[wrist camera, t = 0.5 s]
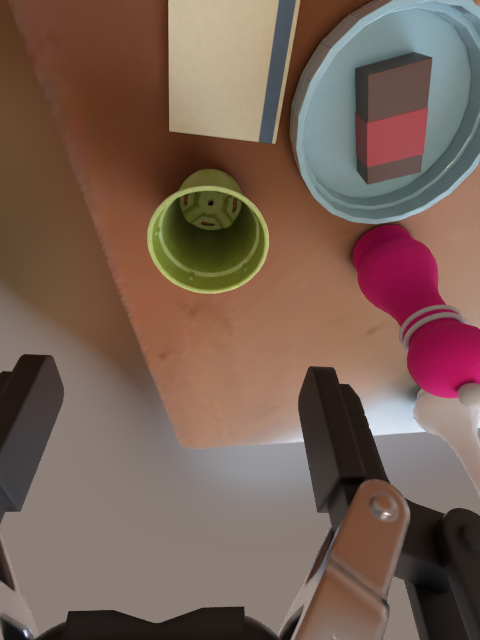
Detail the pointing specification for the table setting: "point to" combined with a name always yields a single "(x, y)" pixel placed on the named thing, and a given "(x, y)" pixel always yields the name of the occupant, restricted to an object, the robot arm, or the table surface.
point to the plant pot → (208, 235)
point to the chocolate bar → (391, 116)
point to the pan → (340, 107)
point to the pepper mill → (420, 313)
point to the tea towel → (229, 66)
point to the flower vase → (452, 428)
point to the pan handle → (478, 0)
